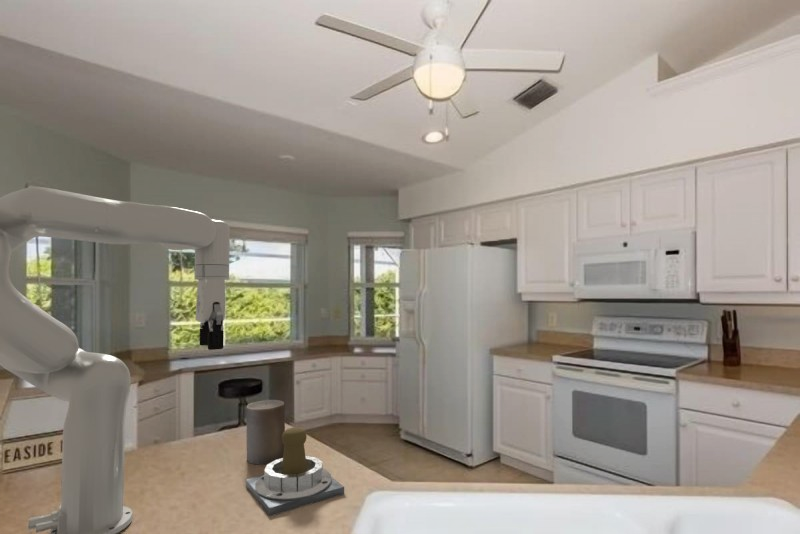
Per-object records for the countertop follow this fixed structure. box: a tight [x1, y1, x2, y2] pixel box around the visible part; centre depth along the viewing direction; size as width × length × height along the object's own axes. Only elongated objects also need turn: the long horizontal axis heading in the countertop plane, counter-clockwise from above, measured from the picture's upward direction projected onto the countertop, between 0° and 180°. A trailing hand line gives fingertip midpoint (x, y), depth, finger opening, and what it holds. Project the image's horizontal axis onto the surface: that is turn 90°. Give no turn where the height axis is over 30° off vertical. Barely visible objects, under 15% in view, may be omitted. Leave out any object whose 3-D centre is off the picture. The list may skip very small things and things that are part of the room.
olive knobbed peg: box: [281, 427, 308, 475], centre depth 98 cm, size 6×6×11 cm
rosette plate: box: [245, 455, 345, 517], centre depth 98 cm, size 16×16×5 cm
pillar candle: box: [245, 398, 286, 465], centre depth 117 cm, size 10×10×15 cm
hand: (211, 347), depth 105 cm, fingers open, 9 cm apart
